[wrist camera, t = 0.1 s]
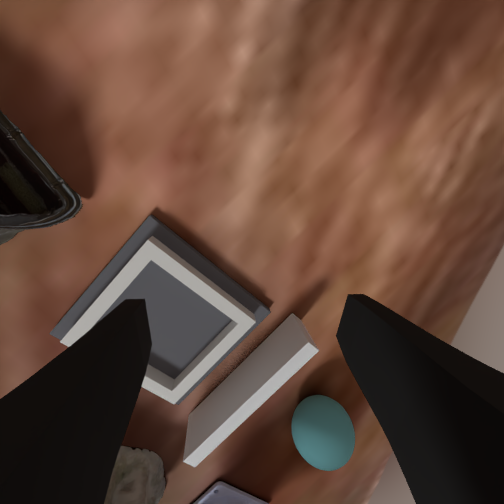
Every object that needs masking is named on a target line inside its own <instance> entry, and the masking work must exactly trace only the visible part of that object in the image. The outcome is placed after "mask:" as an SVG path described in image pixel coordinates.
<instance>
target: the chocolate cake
mask: <svg viewBox="0 0 504 504" xmlns="http://www.w3.org/2000/svg"><path fill="white" fill-rule="evenodd" d="M81 202H82V201H81V197H80V195H78V194H77V193H76V192H74V191H73V190H72V189H71V188H70V187H69V186H68V184H67V183H66V182H65V181H64V180H63V179H62V178H61V177H60V176H59V175H58V174H57V173H56V172H55V171H54V169H53V168H52V167H51V166H50V165H49V164H48V162H47V161H46V160H45V159H44V158H43V157H42V155H41V154H40V153H39V152H38V151H36V150H35V149H34V147H33V146H32V145H31V144H30V142H29V141H28V140H27V139H26V137H25V135H24V134H23V133H22V132H21V131H20V129H19V128H18V127H17V126H15V125H14V124H13V123H12V122H11V121H10V120H9V119H8V118H7V116H6V115H4V114H3V113H2V111H1V110H0V245H1V244H3V243H5V242H7V241H9V240H10V239H12V238H13V237H14V236H15V235H16V234H17V233H18V232H21V231H23V230H25V229H26V230H27V229H34V228H45V227H51V226H53V225H57V224H58V223H61V222H62V223H63V222H65V221H67V220H69V219H71V218H73V217H75V215H76V214H77V213H79V211H80V209H82V207H83V206H82V205H83V204H81Z"/></svg>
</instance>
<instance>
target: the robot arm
mask: <svg viewBox="0 0 504 504" xmlns="http://www.w3.org/2000/svg"><path fill="white" fill-rule="evenodd" d="M336 337H337V339H338V342H339V345H340V347H341V350H342V353H343V355H344V357H345V360H346V362H347V364H348V366H349V368H350V370H351V372H352V374H353V375H354V377H355V379H356V381H357V383H358V385H359V386H360V388H361V390H362V392H363V394H364V396H365V397H366V399H367V401H368V403H369V405H370V407H371V408H372V410H373V412H374V414H375V416H376V417H377V419H378V421H379V423H380V425H381V427H382V429H383V431H384V433H385V435H386V437H387V438H388V440H389V442H390V445H391V447H392V449H393V451H394V454H395V456H396V458H397V460H398V462H399V465H400V467H401V469H402V472H403V474H404V476H405V478H406V481H407V483H408V486H409V488H410V490H411V493H412V495H413V498H414V500H415V502H416V504H504V373H501V372H500V371H498V370H495V369H494V368H492V367H489V366H487V365H486V364H484V363H482V362H480V361H478V360H476V359H474V358H472V357H470V356H469V355H467V354H465V353H463V352H461V351H459V350H458V349H456V348H454V347H452V346H451V345H449V344H447V343H445V342H444V341H442V340H440V339H438V338H437V337H435V336H433V335H432V334H430V333H428V332H426V331H425V330H423V329H421V328H420V327H418V326H416V325H415V324H413V323H412V322H410V321H408V320H407V319H405V318H403V317H402V316H400V315H398V314H397V313H395V312H394V311H392V310H390V309H389V308H387V307H385V306H384V305H382V304H380V303H379V302H377V301H375V300H373V299H372V298H370V297H368V296H366V295H364V294H348V296H347V300H346V303H345V307H344V310H343V314H342V317H341V321H340V324H339V327H338V331H337V334H336ZM151 347H152V340H151V334H150V327H149V321H148V315H147V308H146V302H145V299H125V300H124V301H123V302H122V303H120V304H119V305H118V306H117V307H116V308H114V309H113V310H112V311H111V312H110V313H109V314H108V315H106V316H105V317H104V318H103V319H102V320H101V321H99V322H98V323H97V324H96V325H95V326H94V327H92V328H91V329H90V330H89V331H88V332H86V333H85V334H84V335H83V336H82V337H80V338H79V339H78V340H77V341H76V342H75V343H73V344H72V345H71V346H70V347H68V348H67V349H66V350H65V351H63V352H62V353H61V354H60V355H58V356H57V357H56V358H54V359H53V360H52V361H51V362H49V363H48V364H47V365H45V366H44V367H43V368H42V369H40V370H39V371H38V372H36V373H35V374H34V375H33V376H31V377H30V378H29V379H27V380H26V381H25V382H23V383H22V384H21V385H19V386H18V387H16V388H15V389H14V390H12V391H11V392H9V393H8V394H7V395H5V396H4V397H3V398H1V399H0V504H104V502H105V498H106V495H107V491H108V487H109V483H110V479H111V475H112V472H113V469H114V465H115V462H116V459H117V456H118V453H119V450H120V447H121V444H122V441H123V438H124V435H125V432H126V430H127V427H128V424H129V421H130V418H131V415H132V412H133V409H134V407H135V404H136V401H137V398H138V395H139V392H140V389H141V386H142V383H143V380H144V377H145V374H146V370H147V366H148V361H149V357H150V352H151ZM193 504H269V503H267V502H265V501H262V500H260V499H258V498H256V497H254V496H252V495H250V494H247V493H245V492H243V491H241V490H239V489H237V488H235V487H232V486H230V485H228V484H226V483H224V482H222V481H219V482H216V483H215V484H214V485H213V486H212V487H211V488H210V489H209V490H208V491H206V492H205V493H204V494H203V495H202V496H201V497H200V498H199V499H198V500H197V501H196V502H194V503H193Z"/></svg>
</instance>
